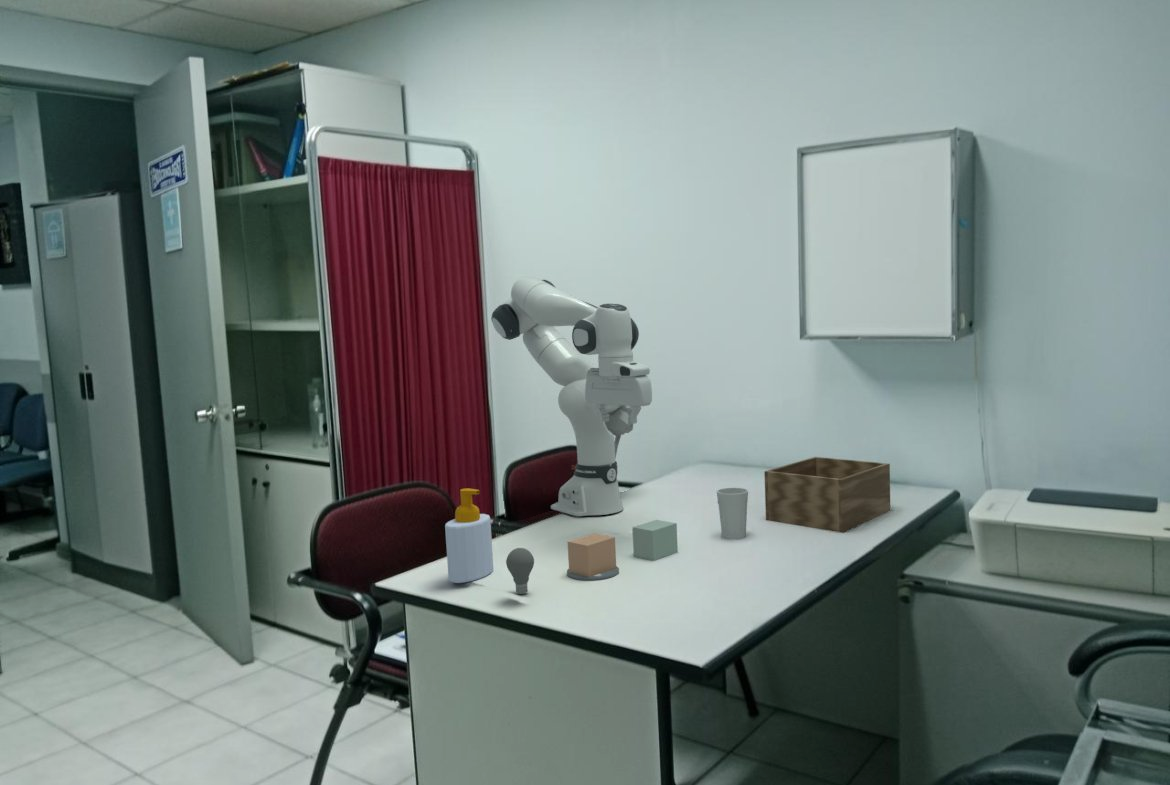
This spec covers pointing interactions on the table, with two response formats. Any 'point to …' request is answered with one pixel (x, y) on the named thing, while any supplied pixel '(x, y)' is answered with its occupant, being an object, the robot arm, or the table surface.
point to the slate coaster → (596, 577)
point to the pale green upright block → (655, 539)
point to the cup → (733, 512)
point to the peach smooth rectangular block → (591, 554)
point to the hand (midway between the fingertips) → (618, 422)
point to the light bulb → (520, 568)
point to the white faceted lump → (619, 423)
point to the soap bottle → (468, 542)
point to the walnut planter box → (827, 493)
